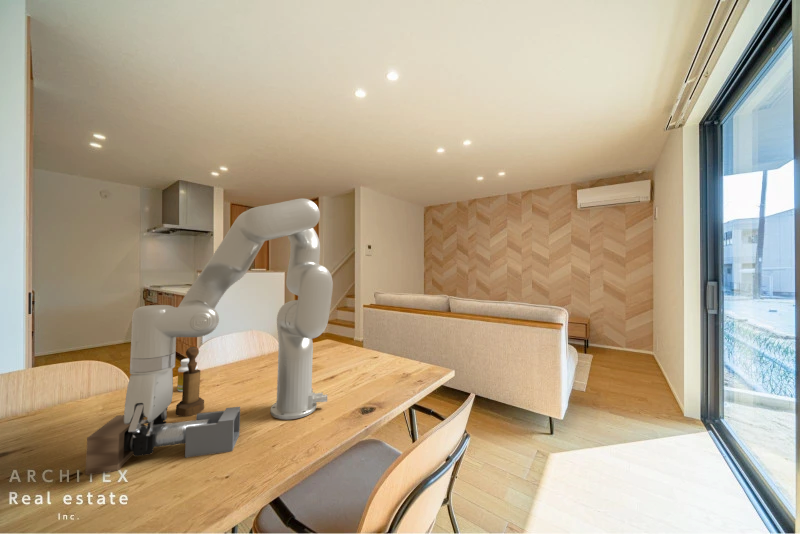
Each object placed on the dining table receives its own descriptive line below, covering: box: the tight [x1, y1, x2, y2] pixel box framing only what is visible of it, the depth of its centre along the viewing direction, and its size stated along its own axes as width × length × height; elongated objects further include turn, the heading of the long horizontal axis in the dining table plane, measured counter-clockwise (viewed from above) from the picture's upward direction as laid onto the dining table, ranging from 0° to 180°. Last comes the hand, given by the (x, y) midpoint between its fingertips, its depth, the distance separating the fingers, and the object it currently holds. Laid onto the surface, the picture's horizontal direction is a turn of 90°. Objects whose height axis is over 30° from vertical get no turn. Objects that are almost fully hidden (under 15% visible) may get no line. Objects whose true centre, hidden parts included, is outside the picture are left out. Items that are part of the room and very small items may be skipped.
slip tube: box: [124, 419, 210, 452], centre depth 64 cm, size 17×5×5 cm, turn 107°
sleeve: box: [184, 406, 241, 458], centre depth 67 cm, size 9×7×7 cm
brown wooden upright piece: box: [175, 346, 205, 417], centre depth 82 cm, size 7×6×18 cm
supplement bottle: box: [176, 357, 199, 393], centre depth 98 cm, size 5×5×10 cm
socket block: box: [85, 414, 145, 476], centre depth 61 cm, size 5×9×7 cm, turn 17°
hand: (150, 446), depth 63 cm, fingers closed on slip tube, 4 cm apart
